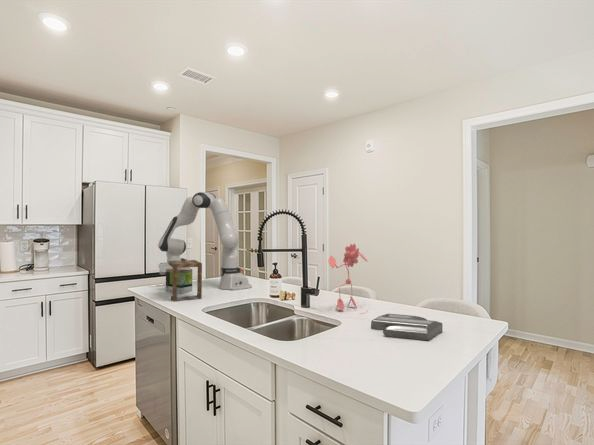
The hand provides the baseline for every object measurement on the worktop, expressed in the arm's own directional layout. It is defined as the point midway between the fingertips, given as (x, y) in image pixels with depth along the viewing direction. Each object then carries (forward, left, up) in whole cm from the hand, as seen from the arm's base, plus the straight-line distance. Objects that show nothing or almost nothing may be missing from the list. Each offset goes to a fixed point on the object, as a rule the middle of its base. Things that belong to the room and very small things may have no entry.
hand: (175, 278), depth 228 cm
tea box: (0, +12, -7) cm, 14 cm away
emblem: (-72, +139, -7) cm, 157 cm away
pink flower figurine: (-71, +103, -7) cm, 125 cm away
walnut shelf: (0, +31, -7) cm, 32 cm away
